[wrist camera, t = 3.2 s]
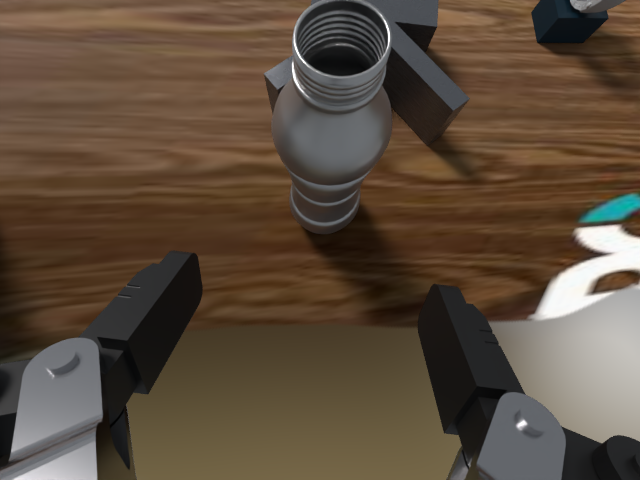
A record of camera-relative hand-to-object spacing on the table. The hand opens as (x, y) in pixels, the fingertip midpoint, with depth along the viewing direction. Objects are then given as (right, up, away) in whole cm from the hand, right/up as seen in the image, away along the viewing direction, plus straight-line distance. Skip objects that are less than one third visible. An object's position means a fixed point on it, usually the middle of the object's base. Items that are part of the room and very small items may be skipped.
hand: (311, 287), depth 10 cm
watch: (+29, +27, +25) cm, 47 cm away
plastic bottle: (+1, +5, +20) cm, 21 cm away
